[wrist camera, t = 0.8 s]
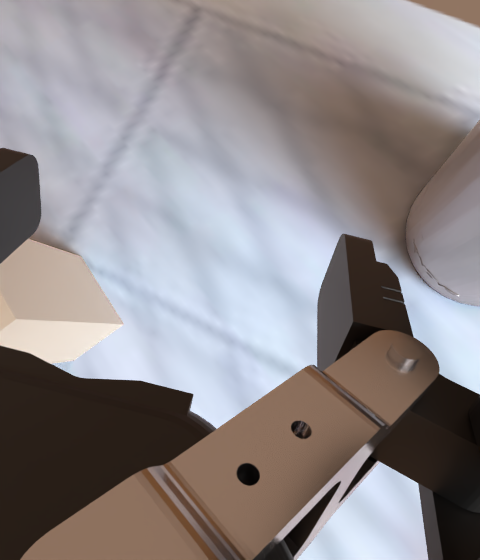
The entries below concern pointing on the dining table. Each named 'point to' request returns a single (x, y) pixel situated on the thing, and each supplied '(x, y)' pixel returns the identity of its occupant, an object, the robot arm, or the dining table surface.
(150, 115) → the dining table surface
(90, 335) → the cream block
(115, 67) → the dining table surface
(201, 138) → the dining table surface
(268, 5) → the dining table surface
